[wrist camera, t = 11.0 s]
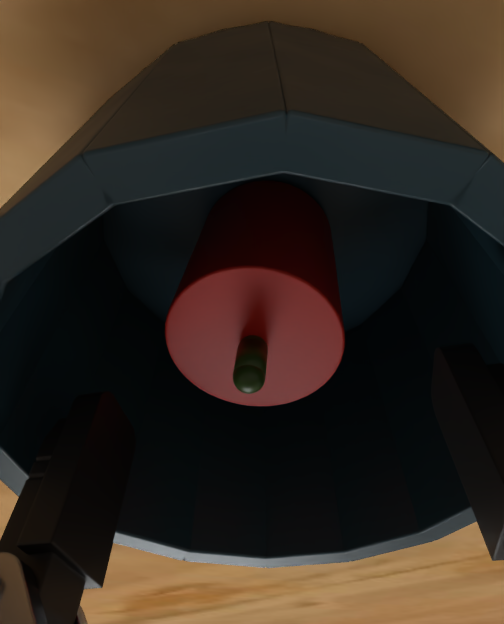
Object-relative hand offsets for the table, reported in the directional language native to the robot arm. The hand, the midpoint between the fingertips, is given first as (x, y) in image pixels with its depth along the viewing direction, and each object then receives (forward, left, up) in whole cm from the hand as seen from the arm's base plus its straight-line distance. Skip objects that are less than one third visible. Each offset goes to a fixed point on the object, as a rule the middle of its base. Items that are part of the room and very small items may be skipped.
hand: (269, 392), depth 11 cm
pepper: (0, 0, -7) cm, 7 cm away
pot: (0, 0, -8) cm, 8 cm away
